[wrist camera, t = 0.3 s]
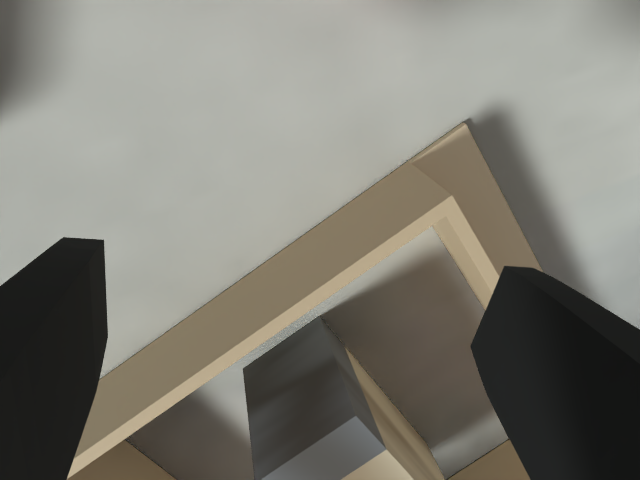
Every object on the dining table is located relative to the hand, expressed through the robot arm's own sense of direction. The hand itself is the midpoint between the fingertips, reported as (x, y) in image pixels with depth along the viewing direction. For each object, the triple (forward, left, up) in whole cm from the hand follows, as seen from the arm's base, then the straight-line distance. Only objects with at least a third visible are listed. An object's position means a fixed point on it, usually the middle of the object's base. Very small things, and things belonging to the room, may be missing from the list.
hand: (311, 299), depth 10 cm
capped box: (-4, -12, -10) cm, 17 cm away
